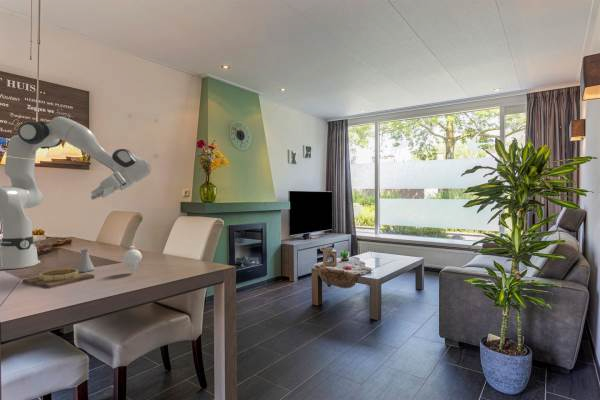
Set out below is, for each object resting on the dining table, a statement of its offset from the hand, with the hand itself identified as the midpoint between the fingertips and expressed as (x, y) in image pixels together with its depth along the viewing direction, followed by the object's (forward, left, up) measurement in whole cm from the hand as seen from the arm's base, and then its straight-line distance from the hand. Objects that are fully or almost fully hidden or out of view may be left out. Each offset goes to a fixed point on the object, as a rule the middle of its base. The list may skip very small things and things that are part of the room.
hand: (91, 196), depth 158 cm
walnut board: (+6, -18, -34) cm, 39 cm away
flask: (-1, -3, -35) cm, 35 cm away
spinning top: (+23, +3, -34) cm, 42 cm away
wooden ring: (+6, -18, -33) cm, 38 cm away
